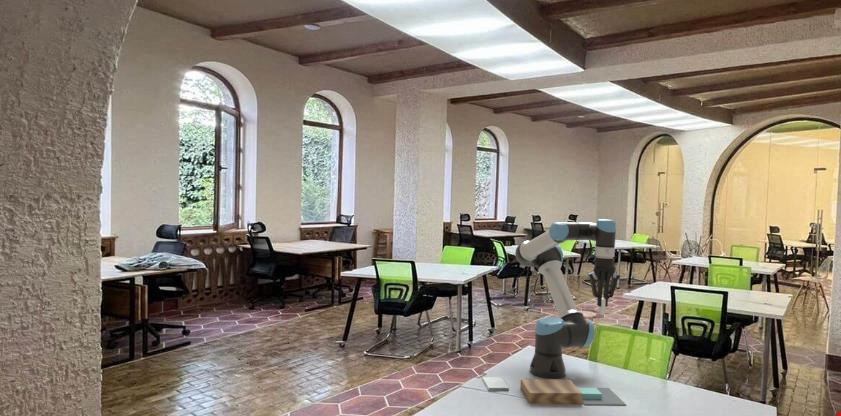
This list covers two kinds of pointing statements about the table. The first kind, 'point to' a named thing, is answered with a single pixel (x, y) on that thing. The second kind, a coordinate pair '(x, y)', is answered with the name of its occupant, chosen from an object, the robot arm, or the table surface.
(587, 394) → the teal foam pad
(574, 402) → the deck
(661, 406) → the table surface
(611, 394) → the mat
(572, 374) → the table surface
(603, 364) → the table surface
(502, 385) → the hard drive
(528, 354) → the table surface
